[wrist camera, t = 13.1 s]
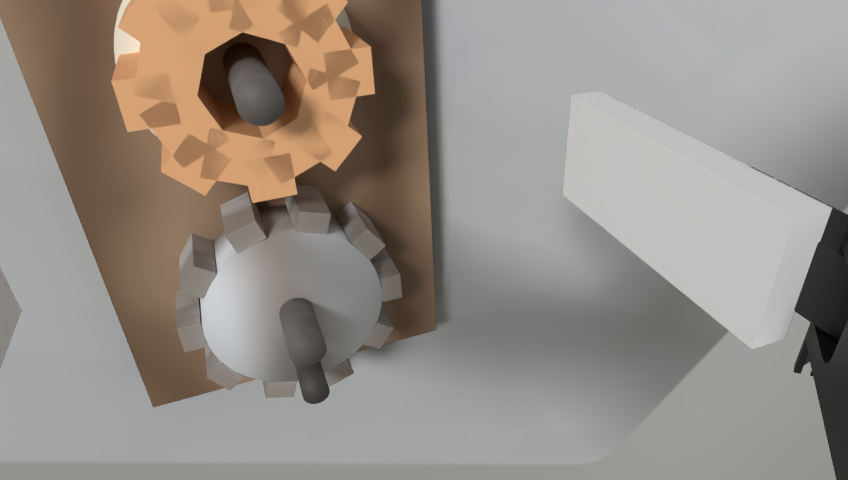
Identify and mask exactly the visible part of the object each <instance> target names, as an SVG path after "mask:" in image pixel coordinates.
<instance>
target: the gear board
mask: <svg viewBox="0 0 848 480" xmlns="http://www.w3.org/2000/svg"><path fill="white" fill-rule="evenodd" d="M347 1H348V3H347V4H346V6H345V7H344V8H343V10H342V11H341V12H340V14H339V15H338V16H337V18H336V19H335V20H336V22H337V23H338V25H339V27H340V28H341V27H346V28H347V29H349V30H350V31H351V32H353V33H354V34H355V35H357V36H358V37H359V38H360V39H362V40H363V41H364V42H366V43H367V44H368V45H369V46H371V54H372V65H373V76H374V87H375V94H370V95H364V96H357V97H356V99H355V103H354V106H353V110H352V113H351V117H350V121H351V123H352V124H353V125H354V127H355V128H356V129H357V130H358V132H359V133H360V134H361V135H362V138H361V139H360V140H359V142H358V143H357V144H356V145H355V147H354V148H353V149H352V151H351V152H350V153H349V154H348V156H347V157H346V158H345V160H344V161H343V162H342V163H341V165H340V166H339V167H338V169H337V170H336V171H334V170H332V169H331V168H329V167H328V166H326V165H325V164H323V163H322V162H319V163H317V164H316V165H314V166H312V167H311V168H309V169H307V170H306V171H304V172H302V173H301V174H299V175H297V176H296V177H295V183H296V189H297V195H292V196H286V197H281V198H276V199H271V200H266V201H261V202H256V203H252V200H251V197H250V193H249V189H248V186H246V185H240V184H234V183H228V182H222V181H216V182H215V183H214V185H213V186H212V187H211V189H210V190H209V191H208V193H207V194H206V195H205V196H204V195H203V194H201V193H199V192H197V191H195V190H193V189H192V188H190V187H188V186H186V185H184V184H182V183H181V182H179V181H177V180H175V179H173V178H172V177H170V176H168V175H166V174H164V173H162V172H161V155H162V142H161V141H160V140H159V138H158V137H157V136H156V135H155V133H154V132H153V131H152V130H151V129H145V130H138V131H132V132H127V129H126V126H125V123H124V120H123V117H122V113H121V110H120V107H119V104H118V101H117V98H116V95H115V91H114V88H113V85H112V82H111V80H112V77H113V74H114V70H115V67H116V64H117V61H118V57H119V55H120V54H128V53H136V52H139V50H140V43H141V42H139V41H138V40H136V39H135V38H133V37H132V36H130V35H129V34H127V33H126V32H124V31H123V30H121V29H120V28H118V26H119V23H120V21H121V18H122V15H123V13H124V10H125V8H126V6H127V5H128V3H129V2H130V0H0V18H1V20H2V23H3V25H4V28H5V30H6V33H7V36H8V38H9V41H10V43H11V46H12V48H13V51H14V53H15V56H16V59H17V61H18V64H19V66H20V69H21V71H22V74H23V76H24V79H25V81H26V84H27V87H28V89H29V92H30V94H31V97H32V99H33V102H34V104H35V107H36V110H37V112H38V115H39V117H40V120H41V122H42V125H43V127H44V130H45V132H46V135H47V138H48V140H49V143H50V145H51V148H52V150H53V153H54V155H55V158H56V161H57V163H58V166H59V168H60V171H61V173H62V176H63V178H64V181H65V183H66V186H67V189H68V191H69V194H70V196H71V199H72V201H73V204H74V206H75V209H76V212H77V214H78V217H79V219H80V222H81V224H82V227H83V229H84V232H85V234H86V237H87V240H88V242H89V245H90V247H91V250H92V252H93V255H94V257H95V260H96V263H97V265H98V268H99V270H100V273H101V275H102V278H103V280H104V283H105V285H106V288H107V291H108V293H109V296H110V298H111V301H112V303H113V306H114V308H115V311H116V314H117V316H118V319H119V321H120V324H121V326H122V329H123V331H124V334H125V336H126V339H127V342H128V344H129V347H130V349H131V352H132V354H133V357H134V359H135V362H136V365H137V367H138V370H139V372H140V375H141V377H142V380H143V382H144V385H145V387H146V390H147V393H148V395H149V398H150V400H151V403H152V405H153V407H157V406H160V405H164V404H168V403H171V402H175V401H179V400H182V399H186V398H189V397H193V396H197V395H200V394H204V393H208V392H211V391H215V390H219V389H222V388H226V389H228V390H231V389H232V388H233V387H235V386H236V385H237V384H241V383H244V382H248V381H252V380H255V379H258V380H263V385H264V390H265V395H266V398H275V397H294V393H295V389H296V384H297V380H299V383H300V387H301V391H302V395H303V398H304V400H305V401H306V402H308V403H311V404H316V403H320V402H322V401H324V400H325V399H326V398H327V397H328V395H329V387H328V384H329V386H331V385H333V384H335V383H337V382H339V381H340V380H342V379H344V378H346V377H348V376H349V375H351V374H353V373H354V372H353V369H352V367H351V364H350V361H349V359H348V358H349V357H350V356H351V355H353V354H354V353H355V352H357V351H361V350H365V349H368V348H372V347H374V348H378V349H380V348H381V347H382V345H383V344H386V343H390V342H394V341H397V340H401V339H405V338H408V337H412V336H416V335H419V334H423V333H427V332H430V331H434V330H436V310H435V288H434V267H433V245H432V223H431V202H430V180H429V158H428V136H427V115H426V93H425V71H424V50H423V28H422V6H421V0H347ZM288 60H289V55H288V53H287V51H286V50H285V48H284V46H283V45H282V43H280V42H276V41H272V40H269V39H265V38H262V37H258V36H254V35H251V34H247V33H244V32H242V33H240V34H239V35H237V36H235V37H233V38H232V39H230V40H228V41H227V42H225V43H223V44H222V45H220V46H218V47H216V48H215V49H213V50H211V51H210V52H208V53H206V54H205V57H204V62H203V68H202V73H201V80H202V81H203V82H204V84H205V85H206V87H207V88H208V89H209V91H210V92H211V94H212V95H213V96H214V98H215V99H216V100H220V101H224V102H228V103H233V104H236V108H237V111H238V113H239V114H240V116H241V117H242V118H243V119H244V120H245V121H246V122H248V123H250V124H252V125H256V126H266V125H270V124H272V123H274V122H275V121H277V120H278V119H279V118H280V116H281V115H282V113H283V111H284V106H285V100H284V96H283V93H282V91H281V89H282V85H283V81H284V77H285V72H286V68H287V64H288ZM327 383H328V384H327Z"/></svg>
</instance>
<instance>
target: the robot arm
mask: <svg viewBox="0 0 848 480" xmlns="http://www.w3.org/2000/svg"><path fill="white" fill-rule="evenodd" d="M563 195H564V196H565V197H566V198H567V199H569V200H570V201H571V202H572V203H573V204H575V205H576V206H577V207H578V208H580V209H581V210H582V211H583V212H584V213H586V214H587V215H588V216H589V217H591V218H592V219H593V220H594V221H595V222H597V223H598V224H599V225H600V226H602V227H603V228H604V229H605V230H607V231H608V232H609V233H610V234H611V235H613V236H614V237H615V238H616V239H618V240H619V241H620V242H621V243H622V244H624V245H625V246H626V247H627V248H629V249H630V250H631V251H632V252H633V253H635V254H636V255H637V256H638V257H640V258H641V259H642V260H643V261H644V262H646V263H647V264H648V265H649V266H651V267H652V268H653V269H654V270H655V271H657V272H658V273H659V274H660V275H662V276H663V277H664V278H665V279H666V280H668V281H669V282H670V283H671V284H673V285H674V286H675V287H676V288H677V289H679V290H680V291H681V292H682V293H684V294H685V295H686V296H687V297H688V298H690V299H691V300H692V301H693V302H695V303H696V304H697V305H698V306H699V307H701V308H702V309H703V310H704V311H706V312H707V313H708V314H709V315H710V316H712V317H713V318H714V319H715V320H717V321H718V322H719V323H720V324H722V325H723V326H724V327H725V328H726V329H728V330H729V331H730V332H731V333H733V334H734V335H735V336H736V337H737V338H739V339H740V340H741V341H742V342H744V343H745V344H746V345H747V346H748V347H750V348H751V349H752V350H753V349H756V348H759V347H762V346H765V345H768V344H771V343H774V342H777V341H781V340H784V339H786V336H787V333H788V330H789V328H790V325H791V322H792V319H793V316H794V314H795V311H796V312H797V313H799V314H800V315H801V316H803V317H804V318H806V319H807V320H809V321H810V322H811V323H810V326H809V328H808V331H807V334H806V336H805V339H804V342H803V344H802V347H801V350H800V352H799V355H798V357H797V360H796V363H795V367H794V372H795V373H801V371H802V368H803V366H804V365H805V364H807V363H808V362H810V363H811V368H812V371H811V374H810V375H811V376H814V381H815V385H816V390H817V394H818V399H819V403H820V408H821V412H822V416H823V421H824V426H825V430H826V435H827V439H828V444H829V448H830V453H831V457H832V462H833V466H834V471H835V475H836V479H837V480H848V215H847V214H845V213H843V212H841V211H839V210H837V209H835V208H833V207H831V206H829V205H827V204H825V203H823V202H821V201H819V200H817V199H815V198H813V197H811V196H809V195H807V194H805V193H803V192H801V191H799V190H797V189H795V188H794V189H793V188H791V187H790V186H789V185H787V184H785V183H783V182H781V181H779V180H775V179H773V177H771V176H769V175H767V174H765V173H763V172H761V171H759V170H757V169H755V168H753V167H750V166H747V165H745V164H743V163H741V162H739V161H737V160H735V159H733V158H731V157H729V156H727V155H725V154H723V153H721V152H719V151H717V150H716V149H714V148H712V147H710V146H708V145H706V144H704V143H702V142H700V141H698V140H696V139H694V138H692V137H690V136H688V135H686V134H684V133H682V132H680V131H678V130H676V129H674V128H672V127H670V126H668V125H666V124H664V123H662V122H660V121H658V120H656V119H654V118H652V117H650V116H648V115H646V114H644V113H642V112H640V111H638V110H636V109H634V108H632V107H630V106H628V105H626V104H624V103H622V102H620V101H618V100H616V99H614V98H612V97H610V96H608V95H606V94H604V93H602V92H600V91H595V92H589V93H583V94H577V95H572V97H571V108H570V119H569V131H568V142H567V154H566V165H565V176H564V188H563ZM21 311H22V310H21V308H20V306H19V304H18V302H17V300H16V298H15V296H14V294H13V292H12V290H11V288H10V286H9V284H8V282H7V280H6V278H5V276H4V274H3V272H2V270H1V268H0V368H1V365H2V362H3V360H4V357H5V354H6V352H7V349H8V346H9V343H10V341H11V338H12V335H13V332H14V330H15V327H16V324H17V322H18V319H19V316H20V313H21Z"/></svg>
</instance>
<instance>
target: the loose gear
mask: <svg viewBox="0 0 848 480" xmlns="http://www.w3.org/2000/svg"><path fill="white" fill-rule="evenodd" d="M347 3H348V1H347V0H130V2H129V3H128V5H127V6H126V8H125V10H124V13H123V15H122V18H121V21H120V23H119V26H118V28H120V29H121V30H123V31H124V32H126V33H127V34H129V35H130V36H132V37H133V38H135V39H136V40H138V41H139V42H141V43H140V50H139V52H136V53H128V54H120V55H119V57H118V61H117V64H116V67H115V70H114V74H113V77H112V80H111V82H112V85H113V88H114V91H115V95H116V98H117V101H118V104H119V107H120V110H121V113H122V117H123V120H124V123H125V126H126V129H127V132H132V131H138V130H145V129H151V130H152V131H153V132H154V133H155V135H156V136H157V137H158V138H159V140H160V141H161V142H162V155H161V172H162V173H164V174H166V175H168V176H170V177H172V178H173V179H175V180H177V181H179V182H181V183H182V184H184V185H186V186H188V187H190V188H192V189H193V190H195V191H197V192H199V193H201V194H203V195H204V196H205V195H206V194H207V193H208V191H209V190H210V189H211V187H212V186H213V185H214V183H215V182H216V181H222V182H228V183H234V184H240V185H246V186H248V189H249V193H250V197H251V200H252V203H256V202H261V201H266V200H271V199H276V198H281V197H286V196H292V195H297V189H296V183H295V177H296V176H297V175H299V174H301V173H302V172H304V171H306V170H307V169H309V168H311V167H312V166H314V165H316V164H317V163H319V162H322V163H323V164H325V165H326V166H328V167H329V168H331V169H332V170H334V171H336V170H337V169H338V167H339V166H340V165H341V163H342V162H343V161H344V160H345V158H346V157H347V156H348V154H349V153H350V152H351V151H352V149H353V148H354V147H355V145H356V144H357V143H358V142H359V140H360V139H361V138H362V135H361V134H360V133H359V132H358V130H357V129H356V128H355V127H354V125H353V124H352V123H351V121H350V117H351V113H352V110H353V106H354V103H355V99H356V97H357V96H364V95H370V94H375V87H374V76H373V65H372V54H371V46H369V45H368V44H367V43H366V42H364V41H363V40H362V39H360V38H359V37H358V36H357V35H355V34H354V33H353V32H351V31H350V30H349V29H347V28H346V27H341V28H340V27H339V25H338V23H337V22H336V20H335V19H336V18H337V16H338V15H339V14H340V12H341V11H342V10H343V8H344V7H345V6H346V4H347ZM242 32H244V33H247V34H251V35H254V36H258V37H262V38H265V39H269V40H272V41H276V42H280V43H282V45H283V46H284V48H285V50H286V51H287V53H288V55H289V60H288V64H287V68H286V72H285V77H284V81H283V85H282V89H281V91H282V93H283V96H284V100H285V106H284V111H283V113H282V115H281V116H280V118H279V119H278V120H277V121H275V122H274V123H272V124H270V125H266V126H256V125H252V124H250V123H248V122H246V121H245V120H244V119H243V118H242V117H241V116H240V114H239V113H238V111H237V108H236V104H233V103H228V102H224V101H220V100H216V99H215V98H214V96H213V95H212V94H211V92H210V91H209V89H208V88H207V87H206V85H205V84H204V82H203V81H202V80H201V73H202V68H203V62H204V57H205V54H206V53H208V52H210V51H211V50H213V49H215V48H216V47H218V46H220V45H222V44H223V43H225V42H227V41H228V40H230V39H232V38H233V37H235V36H237V35H239V34H240V33H242Z"/></svg>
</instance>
